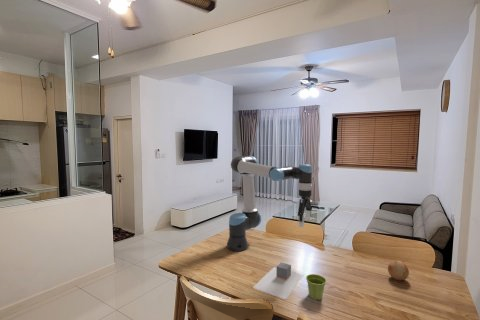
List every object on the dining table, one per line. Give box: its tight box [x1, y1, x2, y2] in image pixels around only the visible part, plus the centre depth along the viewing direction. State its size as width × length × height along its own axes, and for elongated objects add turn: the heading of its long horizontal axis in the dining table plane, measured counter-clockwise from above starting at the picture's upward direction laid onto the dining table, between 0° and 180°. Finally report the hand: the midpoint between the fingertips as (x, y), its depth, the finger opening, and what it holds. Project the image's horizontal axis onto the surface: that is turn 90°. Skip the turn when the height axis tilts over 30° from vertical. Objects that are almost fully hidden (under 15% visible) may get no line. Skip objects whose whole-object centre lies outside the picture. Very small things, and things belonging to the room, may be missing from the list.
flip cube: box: [276, 262, 292, 280], centre depth 139 cm, size 6×6×6 cm
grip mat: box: [252, 266, 304, 300], centre depth 134 cm, size 18×26×1 cm
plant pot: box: [305, 273, 327, 301], centre depth 121 cm, size 9×9×9 cm
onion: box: [387, 259, 410, 281], centre depth 137 cm, size 10×10×10 cm
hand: (304, 223), depth 155 cm, fingers open, 13 cm apart
